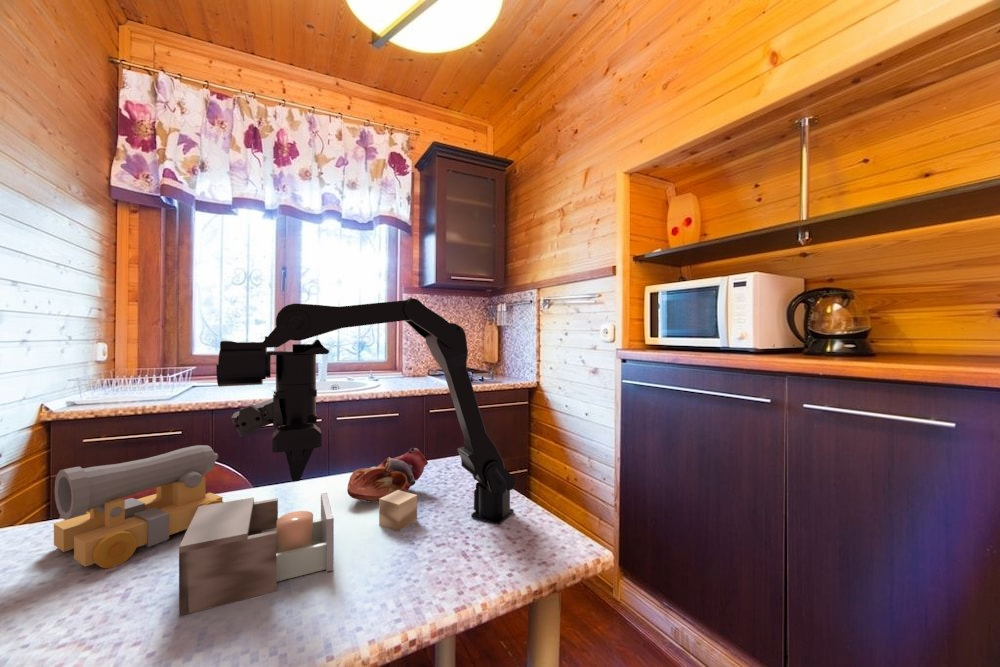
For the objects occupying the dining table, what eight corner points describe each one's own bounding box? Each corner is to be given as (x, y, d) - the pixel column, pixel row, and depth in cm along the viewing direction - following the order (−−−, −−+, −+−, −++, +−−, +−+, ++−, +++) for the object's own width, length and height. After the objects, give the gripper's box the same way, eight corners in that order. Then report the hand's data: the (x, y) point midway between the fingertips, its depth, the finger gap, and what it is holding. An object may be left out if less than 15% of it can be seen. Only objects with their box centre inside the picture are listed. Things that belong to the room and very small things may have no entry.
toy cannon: (239, 518, 80) (239, 442, 79) (84, 580, 60) (84, 479, 60) (195, 501, 87) (195, 432, 87) (45, 551, 68) (45, 461, 67)
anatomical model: (335, 473, 88) (386, 424, 89) (372, 484, 98) (417, 440, 100) (354, 513, 81) (408, 460, 83) (391, 520, 92) (439, 472, 93)
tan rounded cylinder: (312, 543, 68) (312, 508, 68) (314, 559, 64) (314, 521, 63) (276, 551, 66) (276, 514, 66) (276, 568, 61) (276, 528, 61)
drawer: (327, 537, 72) (327, 492, 72) (333, 569, 62) (333, 518, 62) (261, 551, 67) (261, 503, 67) (257, 589, 57) (257, 533, 57)
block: (417, 520, 79) (417, 495, 79) (398, 531, 74) (398, 504, 74) (398, 514, 81) (398, 489, 81) (379, 524, 77) (379, 498, 77)
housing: (277, 545, 69) (277, 493, 69) (276, 590, 57) (276, 527, 57) (198, 562, 64) (198, 506, 64) (179, 616, 52) (178, 546, 52)
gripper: (242, 379, 69) (241, 470, 69) (228, 394, 52) (228, 514, 53) (313, 376, 74) (313, 460, 74) (321, 389, 58) (321, 498, 58)
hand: (295, 480), depth 65 cm, fingers closed
